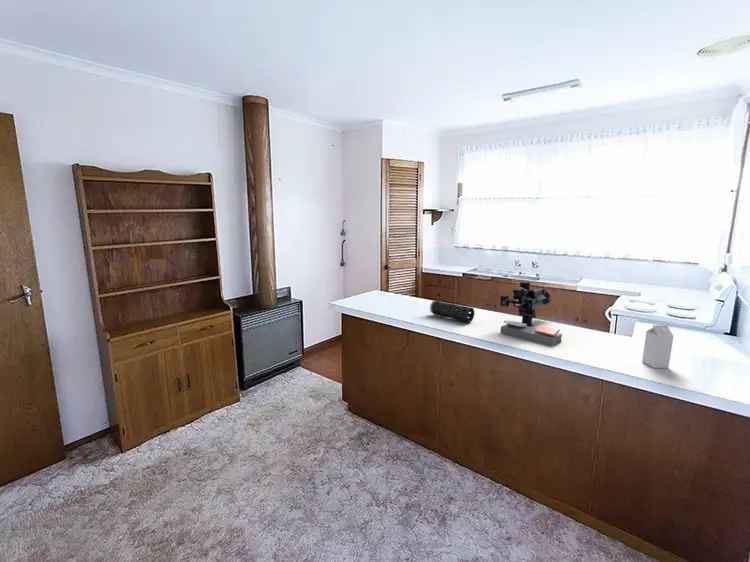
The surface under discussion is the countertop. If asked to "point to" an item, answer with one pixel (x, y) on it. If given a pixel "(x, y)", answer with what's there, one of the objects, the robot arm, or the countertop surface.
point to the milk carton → (658, 346)
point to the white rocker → (515, 323)
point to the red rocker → (547, 330)
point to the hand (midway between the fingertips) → (510, 306)
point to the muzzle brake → (452, 311)
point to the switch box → (530, 334)
